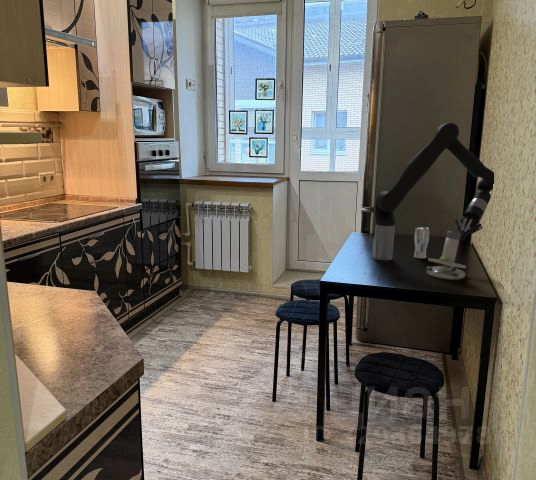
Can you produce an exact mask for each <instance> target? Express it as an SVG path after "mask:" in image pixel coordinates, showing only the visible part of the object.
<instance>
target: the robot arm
mask: <svg viewBox="0 0 536 480" xmlns="http://www.w3.org/2000/svg"><path fill="white" fill-rule="evenodd" d="M459 133H460V129H459V126H458V125H457V124H456V123H454V122H447V123H443V124H442V125H440V126H438V127H437V129H436V130H435V134H434V137H433V138H432V139H431V141H430V142H429V143H428V144H427V145H426V146H425V147H424V148H422V149H421V150H420V151H419V152H417V154H416V155H414V157H412V159H411V160H410V161H409V162H408V163H407V164H406V166H405V167H404V169H403V170H402V173H401V175H400V177H399V179H398V181H397V182H396V184H395V185H394V186H393V187H392V188H391V189H389V191H386V190H385V191H381V192H380V193H378V194H377V196H376V198H375V206H374V209H375V211H374V218H375V227H374V230H375V231H374V237H373V240H372V250H371V251H372V252H371V253H372V255H371V257H372V258H373V259H374V260H378V261H391V260H393V254H394V253H393V252H394V249H393V248H394V239H395V227H396V219H395V215H394V211H395V210H396V209H397V208H398V207H399V206H400V204H401V203H402V202H403V200H404V199H405V197H407V195H408V193H409V192H410V191H411V190H412V189H413V188H414V186H415V185H416V184H417V183H418V182H419V181H420V180H421V179H423V177H424V176H425V175H426V173H427V172H428V171H429V170H430V169H431V168H432V166H433V165H434V164H435V162H436V161H437V160H438V158H439V157H440V156H441V155H442V153H443V152H444V151H445V150H446V149H447V151H449V152H450V153H451V154H452V155H453V156H454V157H455V158H456V159H457V161H459V162H460V163H461V165H463V167H464V168H465V169H466V170H467V172H468V173H469V174H470V176H472V177H473V178H481V180H479V182H478V183H477V186H476V190H475V194H474V196H473V197H472V200H471V201H470V203H469V204H468V206H467V208H466V210H465V211H464V214H463V216H462V217H461V218H460V219H459V220H457V219H455V220H454V223H455V225H456V228H457V231H458V233H461V235H460V239H459V241H464V240H466V238H467V236H468V235H472V234H475V233H476V232H478V231H480V230H482V229H483V226H482V223H480V221H481V220H482V218H483V216H484V214H485V212H486V210H487V207H488V205H489V203H490V201H491V199H492V194H491V193H490V192H493V190H492V189H493V184H494V173H495V172H494V171H493V170H491V169H490V168H488V167H487V166H485V164H484V163H483V162H482V161H481V160H480V159H479V158H478V157H477V155H475V154H474V153H473V152H472V151H471V150H469V149H468V148H467V147H465V145H463V144H462V143H461V141H460V140H459V139H458V138H459Z"/></svg>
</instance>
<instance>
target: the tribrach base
mask: <svg viewBox="0 0 536 480" xmlns="http://www.w3.org/2000/svg"><path fill="white" fill-rule="evenodd" d="M427 273H428V274H429V276H430V275H431V276H430V277H432V278H436V277H437V278H436V279H441V280H446V281H447V280H451V281H457V280H463V279H465V278H466V272H465V271H464V270H461V269H459V268H457V267H453V266H449V265H445V264H442V265H441V266H440V265H439V266H438V265H437V266H426V274H427ZM428 274H427V275H428Z"/></svg>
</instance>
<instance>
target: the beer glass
mask: <svg viewBox="0 0 536 480" xmlns="http://www.w3.org/2000/svg"><path fill="white" fill-rule="evenodd" d="M429 241H430V228H429V227H425V226H416V227H415V230H414V254H413V258H416V259H419V260H420V259H422V260H423V259H427V247H428V244H429Z"/></svg>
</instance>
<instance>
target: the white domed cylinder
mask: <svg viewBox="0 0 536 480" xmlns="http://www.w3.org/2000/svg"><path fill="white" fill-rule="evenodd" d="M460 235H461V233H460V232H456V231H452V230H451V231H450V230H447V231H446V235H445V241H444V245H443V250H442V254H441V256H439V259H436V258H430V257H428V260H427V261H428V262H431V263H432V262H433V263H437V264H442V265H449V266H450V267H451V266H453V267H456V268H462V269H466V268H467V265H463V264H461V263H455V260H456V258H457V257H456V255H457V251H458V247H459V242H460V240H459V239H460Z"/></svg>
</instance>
